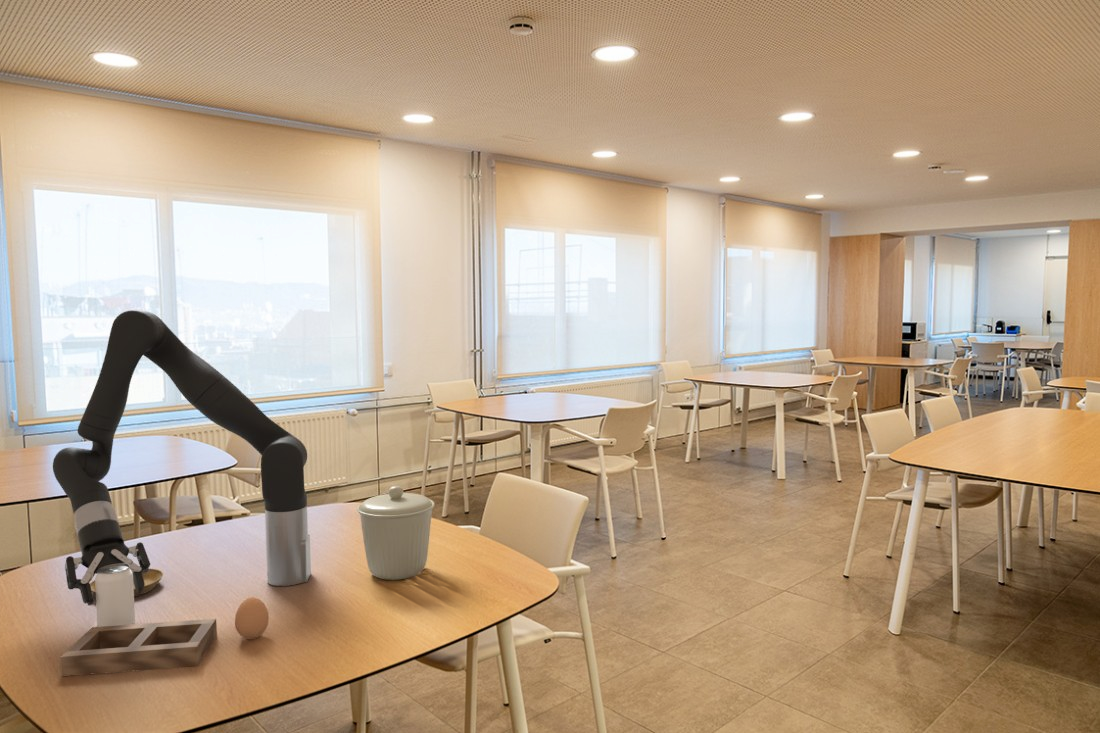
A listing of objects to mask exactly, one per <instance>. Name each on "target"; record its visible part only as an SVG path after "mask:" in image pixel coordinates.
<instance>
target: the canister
mask: <svg viewBox="0 0 1100 733" xmlns="http://www.w3.org/2000/svg"><path fill="white" fill-rule="evenodd" d="M435 504H436V503H435V502H434V501H433V500H432V499H430V498H428V497H427V496H425V495H421V494H419V493H413V492H412V493H411V492H404V488H403V487H402V486H400V485H392V486H391V487H389V489H388V491H387V493H386V494H378V495H375V496H372V497H370V498H367V499H365V500H364V501H363V502H362V503H360V504H358V506H357V507H356V511H357V513H359V516H360V525H361V531H362V532H361V533H362V539H363V540H362V541H363V545H364V550H365V551H364V554H365V556H366V557H365V558H366V563H367V567H368V570H369V572H370V573H371V574H372V575H373V576H374V577H376V578H378V579H381V580H387V581H388V580H389V581H397V580H399V581H400V580H405V579H410V578H413V577H414V576H415V577H416V576H418V575H419V574H420V573H422V572H423V570H424V569H425V567H426V565H427V560H428V552H429V545H430V535H431V533H430V532H431V523H432V512H433V509H434V507H435Z"/></svg>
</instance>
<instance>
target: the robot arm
mask: <svg viewBox="0 0 1100 733" xmlns="http://www.w3.org/2000/svg"><path fill="white" fill-rule="evenodd" d="M143 356H144V358H147V359H148V360H150V361H151V362H152V363H153V364H155V365H156V366H158V367H159V369H161V370H162V371H163V372H164V373H165V374H166V375H167V376H168V377H169V379H170V380H171V382H172V383H173V384H174V385H175V387H176V389H178V391H179V392H180V394H181V395H182V396H183V397H184V399H186V400H187V401H188V403H190V405H192V406H193V407H194V408H195V409H196V410H198V411H199V412H200V414H202V415H203V416H204V417H206V418H207V419H208V420H210V421H211V422H213V423H215V424H216V425H217V426H219V427H221V428H223V429H225V430H226V431H228V432H231V433H232V434H235V435H236V436H237V437H238V436H239V437H240V438H242V439H243V440H244V441H246V442H247V443H248V444H250V445H251V446H252V447H253V448H254V449H255V450H256V451H257V453H259V454H260V455H261V459H260V479H261V493H262V499H263V501H264V514H265V515H264V517H265V521H264V522H265V547H266V552H265V553H266V575H267V577H266V578H267V580H266V581H267V583H268V584H269V585H270V586H274V587H275V586H276V587H287V586H294V585H299V584H301V583H307V582H308V581H309V578H310V576H311V574H312V564H311V536H310V535H311V534H309V528H308V527H309V526H308V525H309V524H308V496H307V493H306V490H305V471H304V469H305V468H304V467H305V466H306V463H307V462H308V461H307V460H308V452H307V448H306V446H305V444H304V443H303V442H302V441H301V440H300V439H299V438H298V437H296V436H294V435H293V434H292V433H290V432H289V431H287V430H286V429H285V428H283V427H282V426H281V425H279V424H278V423H276V422H274V421H273V420H272V419H271V418H270V417H268V416H267V415H266V414H265V413H264V412H263V411H262V409H260V408H259V407H258V406H257V405H256V404H255V403H254V402H253V401H252V400H251V399H249V397H248V396H247V395H246V394H244V393H243V392H242V391H241V390H240V389H239V388H238V387H237V386H236V385H235V384H233V383H232V382H231V381H230V380H229V379H228V378H227V377H226V376H225V375H224V374H222V373H221V372H220V371H218V369H216V368H215V367H214V366H212V365H211V364H210V363H209V362H207V361H205V359H203V358H202V357H200V356H199V355H198V354H196V353H195V352H193V351H192V350H191V349H190V348H189V347H188V346H186V344H185V343H184V342H183V341H182V340H181V339H180V338H179V337H178V336H177V335H176V334H175V333H174V332H173V331H172V330H171V329H170V328H169V327H168V325H167V324H166V323H165V322H164V321H163V320H162V319H161V318H160V317H159V316H158V315H156V313H153V312H150V311H146V310H139V309H138V310H137V309H129V310H126V311H123V312H121V313H120V314H118V316H116V317H115V319H114V320H113V323H112V325H111V329H110V332H109V338H108V342H107V346H106V351H105V355H104V358H103V359H104V360H103V362H102V365H101V368H100V372H99V375H98V378H97V380H96V384H95V385H94V386H95V387H94V389H93V391H92V394H91V396H90V398H89V401H88V403H87V405H86V408H85V410H84V412H83V414H82V417H81V420H80V422H79V424H78V427H77V434H78V436H80V437H81V438H82V439H84V440H88V441H90V442H92V446H91V449H89V448H88V449H86V448H80V447H65V448H62V449H60V450H59V451H58V452H57V453H56V454H55V456H54V458H53V462H52V471H53V475H54V478H55V480H56V481H57V482H58V484H59V485H60V487H61V488H62V490H63V491H64V493H65V495H66V496H67V497H68V500H70V505H71V508H72V513H73V517H74V528H75V534H76V535H77V539H78V543H79V547H80V552H81V556H80V557H73V556H67V557H66V558H65V559H66V560H65V563H64V570H65V578H66V583H67V588H68V590H74V589H78V590H79V591H80V594H81V600H82V602H83V603H84V604H87V606H93V605H94V600H95V599H94V596H93V592H92V591H91V586H90V583H91V582H92V581H93V578H95V576H96V575H97V573H98V572H97V570H98V569H99V568H101V567H104V566H107V565H112V564H121V563H123V564H129V565H130V569H131V571H132V573H133V582H134V586H135V590H136V593H137V594H139V593H141V592H142V590H143V588H144V585H145V583H144V580H143V576H142V574H143V573H146V572H148V570H149V569H150V566H151V562H150V559H149V556H148V554H147V551H146V548H145V545H144V543H143V542H142V541H141V542H137V543H136V545H132V546H129V547H128V546H127V545H126V544H125V541H124V538H123V533H122V529H121V526H120V523H119V519H118V515H117V513H116V510H115V508H114V505H113V502H112V499H111V495H110V492H109V489H108V487H107V485H106V484H105V483H103V482H102V480H103V479H105V477H106V476H107V475H108V473H109V471H110V469H111V464H112V451H113V444H114V438H115V434H116V431H117V429H118V427H119V425H120V422H121V420H122V417H123V415H124V412H125V409H126V405H127V401H128V396H129V390H130V384H131V381H132V378H133V375H134V372H135V370H136V368H137V365H138V364H139V362H140V361H141V359H142V357H143ZM129 554H131V555H132V556H133V557H134V558H136V559H137V562H138V564H137V563H135V562H134V561H133V559H132V558H129V557H128V555H129ZM79 565H81V566H83V567H85V568H87V570H86V571H85V573H84V575H83V576H82V578H81V579H79V578H77V574H76V572H77V571H76V570H77V569H79V568H78V567H79Z"/></svg>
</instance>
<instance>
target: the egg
mask: <svg viewBox="0 0 1100 733" xmlns="http://www.w3.org/2000/svg"><path fill="white" fill-rule="evenodd" d="M236 610H237V611H236V612H235V616H234V617H235V618H234V626H235V627H234V628H235V630H236V631H237V633H238V634H239V636H241V638H244V639H247V640H255V639H258V638H259V637H260V636H262V635H263V634H264V632H266V630H267V627H268V626H269V622H270V620H269V619H270V617H269V615H270V614H269V611H268V608H267V606H266V604H265V603H264V602H263V601H262V600H261V599H260V598H258V597H254V596H251V597H248V598H246V599H245V600H243V601H242V602H241V603H240V605H239V606H238V608H237V609H236Z"/></svg>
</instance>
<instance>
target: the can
mask: <svg viewBox="0 0 1100 733" xmlns="http://www.w3.org/2000/svg"><path fill="white" fill-rule="evenodd" d="M97 572H98V573H97V574H96V575H95V577H94V580H95V591H96V595H95V607H96V608H95V609H96V624H97V626H96V627H104V626H118V625H132V624H136V623H135V622H136V613H135V612H136V611H135V610H136V609H135V608H136V607H135V596H134V587H133V573H132V571H131V569H130V565H129V564H124V563H121V564H112V565H107V566H104V567H101V568H99V569H98V570H97Z"/></svg>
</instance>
